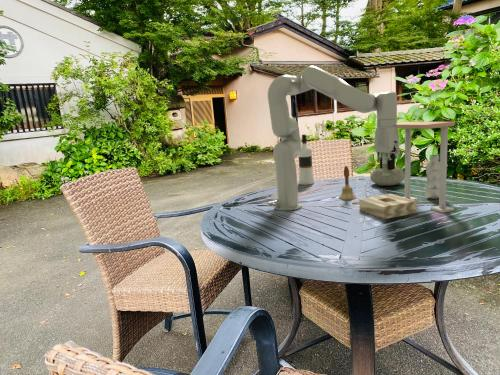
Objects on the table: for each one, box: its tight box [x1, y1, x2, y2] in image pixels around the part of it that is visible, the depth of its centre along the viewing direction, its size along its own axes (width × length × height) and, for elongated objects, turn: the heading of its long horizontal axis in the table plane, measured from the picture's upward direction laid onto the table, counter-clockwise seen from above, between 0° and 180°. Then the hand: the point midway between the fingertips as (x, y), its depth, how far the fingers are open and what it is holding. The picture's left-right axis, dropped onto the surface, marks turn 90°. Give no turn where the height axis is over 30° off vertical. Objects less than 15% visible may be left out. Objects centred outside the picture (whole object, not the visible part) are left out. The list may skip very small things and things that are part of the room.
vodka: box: [297, 134, 315, 186], centre depth 220 cm, size 9×9×30 cm
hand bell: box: [338, 165, 357, 201], centre depth 180 cm, size 8×8×16 cm
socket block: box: [358, 193, 418, 220], centre depth 153 cm, size 16×16×5 cm
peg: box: [382, 151, 393, 177], centre depth 149 cm, size 4×4×11 cm
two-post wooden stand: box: [397, 121, 456, 213], centre depth 154 cm, size 14×26×36 cm, turn 18°
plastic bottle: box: [424, 154, 440, 200], centre depth 166 cm, size 6×7×20 cm
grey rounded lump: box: [369, 166, 405, 187], centre depth 203 cm, size 18×18×10 cm
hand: (387, 168), depth 150 cm, fingers closed on peg, 4 cm apart
